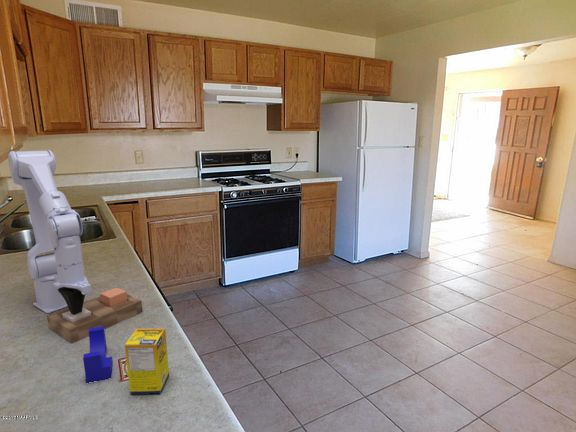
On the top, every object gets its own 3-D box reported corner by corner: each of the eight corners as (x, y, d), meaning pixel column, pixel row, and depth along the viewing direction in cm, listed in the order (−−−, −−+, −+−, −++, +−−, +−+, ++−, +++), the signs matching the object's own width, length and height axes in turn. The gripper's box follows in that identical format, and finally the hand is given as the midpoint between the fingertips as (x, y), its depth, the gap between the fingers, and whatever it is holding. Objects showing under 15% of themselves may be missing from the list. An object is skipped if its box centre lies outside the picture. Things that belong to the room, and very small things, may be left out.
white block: (63, 326, 95) (62, 313, 94) (83, 318, 99) (81, 306, 98) (73, 332, 92) (71, 319, 91) (92, 324, 96) (90, 311, 95)
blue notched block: (111, 379, 76) (108, 353, 75) (86, 384, 75) (83, 358, 73) (113, 348, 87) (111, 324, 86) (92, 352, 85) (89, 328, 84)
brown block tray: (48, 327, 95) (46, 315, 94) (118, 300, 110) (117, 289, 110) (71, 343, 88) (69, 329, 88) (142, 312, 104) (141, 300, 103)
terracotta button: (101, 305, 102) (100, 293, 101) (117, 298, 106) (116, 287, 105) (110, 309, 100) (109, 297, 99) (127, 303, 103) (126, 291, 103)
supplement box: (169, 374, 77) (165, 327, 75) (161, 394, 72) (156, 344, 69) (140, 375, 77) (136, 327, 75) (129, 395, 71) (124, 344, 69)
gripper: (38, 260, 92) (46, 311, 95) (66, 273, 84) (74, 328, 87) (68, 253, 98) (74, 301, 101) (97, 264, 90) (103, 316, 93)
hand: (76, 312), depth 94 cm, fingers closed, pressing on white block
